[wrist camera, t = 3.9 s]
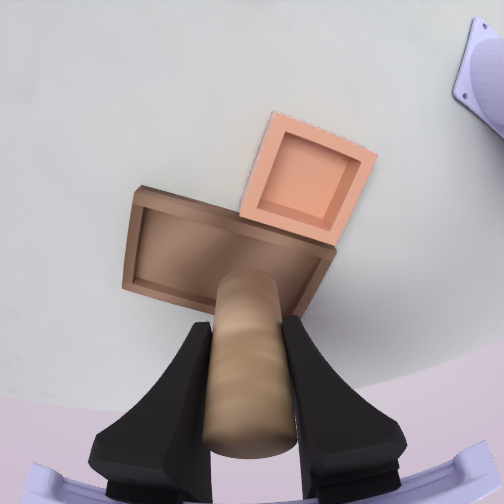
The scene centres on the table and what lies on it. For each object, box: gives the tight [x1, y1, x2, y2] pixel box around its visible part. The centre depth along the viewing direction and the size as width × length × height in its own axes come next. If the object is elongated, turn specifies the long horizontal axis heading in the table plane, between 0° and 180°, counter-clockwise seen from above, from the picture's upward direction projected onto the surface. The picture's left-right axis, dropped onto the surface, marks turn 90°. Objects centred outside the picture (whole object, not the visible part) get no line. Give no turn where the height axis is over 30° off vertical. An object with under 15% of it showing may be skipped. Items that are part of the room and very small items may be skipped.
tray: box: [122, 185, 337, 319], centre depth 22 cm, size 14×8×2 cm, turn 71°
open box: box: [239, 111, 378, 246], centre depth 18 cm, size 6×6×2 cm
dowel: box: [202, 268, 298, 459], centre depth 12 cm, size 3×3×8 cm
